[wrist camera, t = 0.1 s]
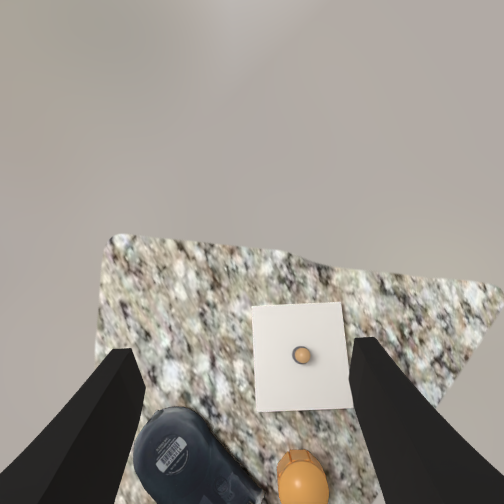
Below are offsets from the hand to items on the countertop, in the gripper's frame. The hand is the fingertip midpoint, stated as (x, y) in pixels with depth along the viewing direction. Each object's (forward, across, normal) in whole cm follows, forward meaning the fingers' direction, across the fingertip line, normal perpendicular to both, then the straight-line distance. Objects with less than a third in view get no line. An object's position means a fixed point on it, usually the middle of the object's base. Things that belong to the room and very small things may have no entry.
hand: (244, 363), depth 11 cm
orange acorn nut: (+11, -4, +33) cm, 35 cm away
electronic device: (+12, +8, +33) cm, 36 cm away
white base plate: (+21, -5, +24) cm, 32 cm away
